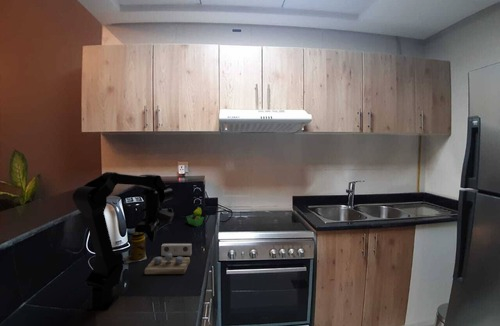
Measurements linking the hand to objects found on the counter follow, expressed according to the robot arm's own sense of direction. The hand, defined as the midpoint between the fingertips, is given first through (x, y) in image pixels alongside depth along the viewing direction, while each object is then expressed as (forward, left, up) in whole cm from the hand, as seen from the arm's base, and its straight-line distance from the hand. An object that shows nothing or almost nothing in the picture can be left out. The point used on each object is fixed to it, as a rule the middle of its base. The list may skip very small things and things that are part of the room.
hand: (152, 241), depth 91 cm
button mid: (+2, -6, -11) cm, 13 cm away
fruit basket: (+60, -6, -13) cm, 62 cm away
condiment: (+11, +12, -13) cm, 21 cm away
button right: (+2, -10, -12) cm, 16 cm away
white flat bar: (+14, -6, -12) cm, 20 cm away
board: (+2, -6, -12) cm, 14 cm away
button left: (+2, -1, -12) cm, 13 cm away
